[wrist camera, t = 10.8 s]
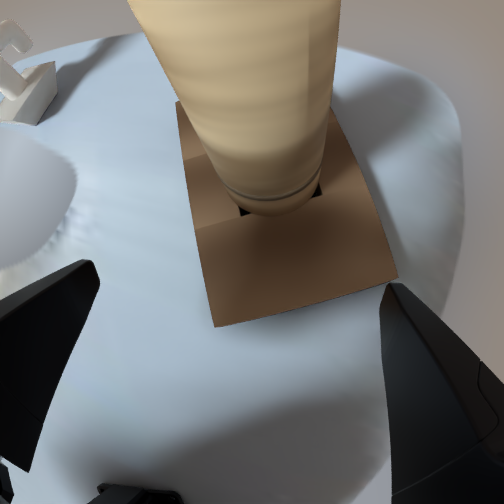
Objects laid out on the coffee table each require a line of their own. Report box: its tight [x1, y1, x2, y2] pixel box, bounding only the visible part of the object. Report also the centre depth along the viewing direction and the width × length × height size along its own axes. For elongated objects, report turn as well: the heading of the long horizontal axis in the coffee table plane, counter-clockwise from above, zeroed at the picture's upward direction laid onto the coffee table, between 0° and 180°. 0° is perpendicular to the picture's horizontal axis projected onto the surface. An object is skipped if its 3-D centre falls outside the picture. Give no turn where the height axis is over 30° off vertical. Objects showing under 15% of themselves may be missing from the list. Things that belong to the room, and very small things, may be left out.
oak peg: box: [127, 0, 341, 216], centre depth 10 cm, size 5×5×13 cm
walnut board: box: [175, 101, 399, 328], centre depth 15 cm, size 14×9×2 cm, turn 13°
